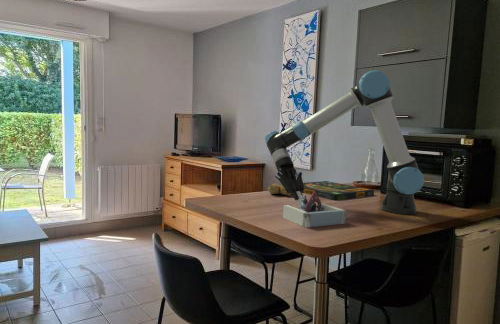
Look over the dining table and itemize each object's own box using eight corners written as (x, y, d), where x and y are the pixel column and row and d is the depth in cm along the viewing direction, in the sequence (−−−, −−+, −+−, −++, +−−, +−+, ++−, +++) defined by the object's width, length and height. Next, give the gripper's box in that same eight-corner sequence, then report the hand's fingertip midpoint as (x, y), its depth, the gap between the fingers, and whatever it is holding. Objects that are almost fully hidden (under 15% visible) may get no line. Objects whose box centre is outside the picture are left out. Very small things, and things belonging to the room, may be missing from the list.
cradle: (283, 217, 150) (283, 205, 149) (320, 214, 159) (321, 202, 158) (305, 227, 136) (306, 213, 136) (345, 223, 145) (346, 210, 145)
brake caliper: (320, 218, 141) (306, 190, 145) (300, 230, 147) (286, 203, 151) (335, 214, 150) (321, 187, 153) (315, 225, 156) (302, 200, 160)
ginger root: (288, 196, 189) (286, 180, 190) (262, 199, 198) (259, 184, 199) (301, 193, 203) (299, 178, 203) (276, 196, 211) (274, 182, 212)
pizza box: (325, 186, 241) (326, 181, 241) (373, 196, 214) (374, 190, 214) (286, 190, 219) (286, 184, 219) (333, 201, 192) (334, 194, 192)
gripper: (291, 166, 172) (311, 210, 159) (266, 166, 166) (285, 212, 153) (298, 156, 167) (319, 200, 154) (273, 155, 161) (293, 201, 148)
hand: (302, 206), depth 154 cm, fingers closed
